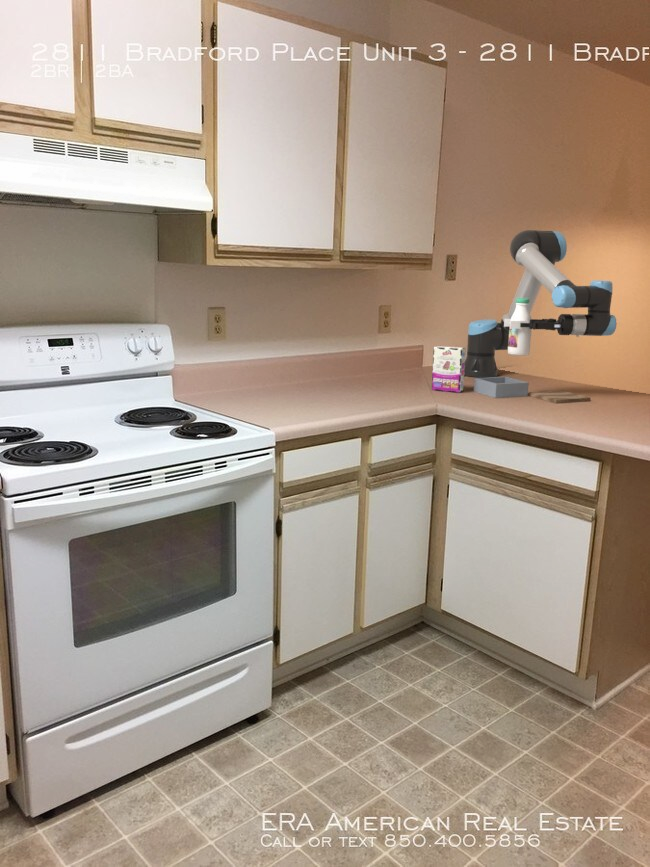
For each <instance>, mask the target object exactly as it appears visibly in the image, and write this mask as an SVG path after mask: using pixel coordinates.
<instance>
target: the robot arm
mask: <svg viewBox="0 0 650 867" xmlns="http://www.w3.org/2000/svg"><path fill="white" fill-rule="evenodd" d="M567 249H568V245H567V241H566V237H565V235H564V234H563V233H561V232H560V231H557V230H539V229H538V230H537V229H536V230H535V229H532V230H531V229H525V230H522V231H520V232H518V233H517V234H516V235H515V236H513V238H512V240H511V241H510V244H509V252H510V256H511V258H512V259H513V260H514V262H516V263H517V264H518V265H519V266H520V267H524V271H523V273H522V277H521V278H520V282H519V284H518V286H517V289H516V292H515V294H514V297H513V300H512V302H511V304H510V306H509V310H508V313H505V314H504V315H502V318H501V321H499V322H498V320H496V319H493V318H491V319H490V318H489V319H488V318H487V319H478V320H474V321H471V322H470V323H469V325H468V330H467V346H466V347H467V348H466V356H465V368H464V377H465V376H466V377H471V378H473V377H474V378H488V377H498V366H497V363H496V359H495V352H496V351H508V340H509V327H510V329H531V330H547V331H557V334H558V335H560V336H575V337H576V338H579V337H580V336H587V337H588V336H591V337H602V336H605V337H606V336H612V335H613V334H614V333H615V331H616V330H617V318H616V316H615V315H613V314H611V304H612V297H613V287H614V286H613V282H612V281H610V280H591V282H590V284H589V285H576V284H575V283H573V282H572V281H571V280H570V279H569V278H568V277H567V276H566V275H565V274H564V273H563V272H561V270H560V269H559V268H557V267H556V266H555V265H556V263H559V262H561V261H563V260H564V258H565V257H566V255H567V251H568V250H567ZM542 286H543V287H544V288H545V289H546V290H547V291H548V292H549V293H551V300H552V304H553V305H554V306H555V307H556V308H563V309H572V308H573V309H574V308H575V309H579V308H580V309H581V308H587V314H586V313H585V314H584V313H582V314H581V313H573V314H571V313H561V314H559V315H558V317H557V319H556V318H542V319H534V318H531V319H530V323H529V321H510V320H511V317H512V315H513V313H514V311H515V309H516V299H517V298H527V299H529V305H528V310H529V313H530V314H531V312H532V309H533V307H534V305H535V303H536V300H537V298H538V295H539V292H540V291H541V289H542Z"/></svg>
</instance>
